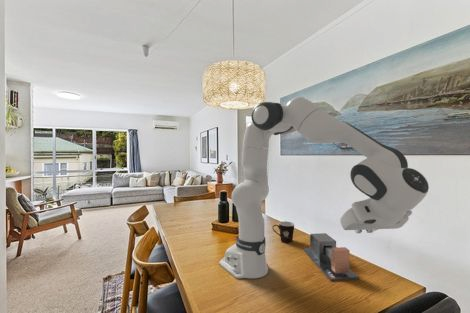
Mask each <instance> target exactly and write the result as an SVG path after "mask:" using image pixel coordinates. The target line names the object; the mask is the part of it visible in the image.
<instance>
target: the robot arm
mask: <svg viewBox="0 0 470 313" xmlns="http://www.w3.org/2000/svg"><path fill="white" fill-rule="evenodd" d="M250 118H251V122H249V123H247V124H246V127H245V130H244V134H243V139H242V146H241V147H242V148H241V149H242V150H241V161H240V165H241V168H242V172H243V181H242V182H240V183H238V184H237V185H236V186H235V187H234V188H233V190H232V192H231V197H230V198H231V202H232V204H233V205H234V206H235V209H236V213H237V219H238V235H237V236H235V237H234V239H233V240H234V241H235V243H234V244H233V245H231V246H229V248H227V249H226V251H225V253H224V257H223V258H221V259H220V261H219V265H220V266H221V267H222V268H223V269H224V270H225V271H227V272H228V273H229V274H231V275H232V276H233V277H234V278H235V279H259V278H260V279H261V278H262V277H264V276H266V275H267V274H268V273H269V268H268V264H267V258H266V257H267V256H266V237H265V218H264V215H263V211H262V202H264V201H265V199H267V197H268V195H269V192H270V188H269V186H270V185H269V179H268V156H269V147H270V146H269V145H270V144H269V143H270V139H271V137H272V136H278V135H280V134H285V133H288V132H290V131H292V130H293V129H295V130H296V131H297V132H298V133H299V134H300V135H301V136H302V137H303V138H304V139H305V140H307V141H309V142H310V143H313V144H320V145H321V144H329V143H340V144H341V143H343V144H345V145H348V146H349V147H351V148H352V149H353V150H355V151H357V152H358V153H360V154H361V155H362V156H364V157H365V159H363V160H361V161H360V162H358V163H357V164H355V165H354V166H352V168H351V170H350V180H351V183H352V184H353V186H354V187H355V188H356V189H358V191H359V192H361V193H362V194H364V195H366V196H367V197H368V198H366V199H363V200H359V201H354V202H353V203H351V208H348V209H347V210H346V211H345V212H344V213H343V214H342V216H341V218H340V219H339V221H340V224H341V227H342V228H343V230H344V231H354V232H355V234H361V233H362V232H363V230H365V231H366V233H367V234H372V233H374V232H376V231H378V230H391V229H392V230H394V229H395V230H396V229H400V228H401V227H404V226H405V224H406V223H407V222H408V221H409V219H410V218H409V217H410V216H411V215H412V214H413V211H412V210H413V209H414V208H416V207H417V206H418V205H419V204H420V203H421V202H422V201H423V200H424V199H425V197H426V196H427V194H428V192H429V189H430V188H429V182H428V180H427V178H426V177H425V176H424V175H423V174H422V173H421V172H420V171H419V170H417V169H414V168H410V167H409V164H408V161H407V160H408V159H407V158H406V156H405V155H404V153H402V152H401V151H400V150H399V149H397V148H394V147H392V146H388V145H385V144H384V143H381V142H380V141H378V140H376V139H375V138H373V137H371V136H370V135H368V134H367V133H365V132H363V131H362V130H360V129H359V128H357V127H356V126H354V125H352V124H350V123H349V122H347V121H344V120H340V119H338V118H337V117H334V116H333V115H331V114H329V113H327V112H326V111H325V110H324V109H322V108H321V107H320V106H319V105H317V104H315V103H314V102H312V101H311V100H309V99H308V98H305V97H302V96H295V97H293V98H292V99H290V100H289V101H288V102H287V103H286V104H285V105H282V104H281V103H280V102H272V101H264V102H263V101H262V102H260V103H258V104H256V105H255V106H254V107H253V109H252V111H251V117H250Z"/></svg>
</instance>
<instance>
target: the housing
mask: <svg viewBox="0 0 470 313" xmlns="http://www.w3.org/2000/svg"><path fill="white" fill-rule="evenodd" d="M309 235H310V237H309V239H310V241H309V245H310V246H309V247H304V248H302V250H303V252H304V253H305V254H306V255H307V256H308V258H310V260H311V261H312V262H313V263H314V264H315V265H316V266H317V267H318V269H319V270H320V272H322V273H323V274H324V275H325V276H326V278H327V279H328V280H329V281H330V282H335V281H336V282H337V281H353V280H354V281H356V280H360V276H359V275H358V274H357V273H356V272H354V271H353V270H352V269H351V268H350V267H349V272H343V273H335V272H334V271H333V270H332V269H331V261H330V258H329V257H328V256H327V255H326V254H325V253H324V246H331V247H332V248H337V240H336V239H334V238H333V237H332V236H330V235H329V234H327V233H325V232H323V233H310V234H309Z"/></svg>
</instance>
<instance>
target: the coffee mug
mask: <svg viewBox="0 0 470 313" xmlns="http://www.w3.org/2000/svg"><path fill="white" fill-rule="evenodd" d="M274 227H277V229H278V230H279V232H277V231H276V230H275V228H274ZM271 228H272V230H273V232H274V233H275V234H277V235H278V236H279V237H280V241H281V243H283V244H292V243H293V241H294V240H293V237H294V232H295V223H294V222H291V221H287V220H286V221H280V222H278V224H274V225H272V227H271Z"/></svg>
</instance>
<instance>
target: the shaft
mask: <svg viewBox="0 0 470 313" xmlns="http://www.w3.org/2000/svg"><path fill="white" fill-rule="evenodd" d="M324 253H325V254H326V255H327V256H328V257H329V258H330V261H331V269H332V270H333V271H334V272H335V273H343V272H349V268H350V249H348V248H347V247H345V246H343V247H342V246H341V247H340V246H339V247H336V248H332V247H331V246H324Z"/></svg>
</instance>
